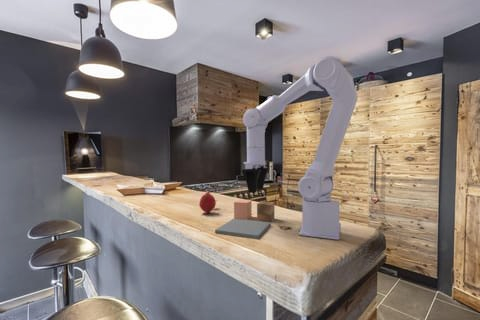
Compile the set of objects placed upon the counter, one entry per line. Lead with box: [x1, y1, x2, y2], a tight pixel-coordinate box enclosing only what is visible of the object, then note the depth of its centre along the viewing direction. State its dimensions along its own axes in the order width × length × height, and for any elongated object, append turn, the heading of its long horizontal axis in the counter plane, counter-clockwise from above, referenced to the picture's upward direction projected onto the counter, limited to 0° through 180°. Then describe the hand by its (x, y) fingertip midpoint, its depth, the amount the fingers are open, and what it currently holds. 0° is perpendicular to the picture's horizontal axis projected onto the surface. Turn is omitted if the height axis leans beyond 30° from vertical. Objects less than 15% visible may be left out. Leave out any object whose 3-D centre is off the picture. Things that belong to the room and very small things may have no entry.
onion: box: [199, 190, 217, 214], centre depth 82 cm, size 6×6×8 cm
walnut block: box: [256, 200, 275, 223], centre depth 73 cm, size 4×4×6 cm
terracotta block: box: [233, 199, 253, 220], centre depth 76 cm, size 4×4×6 cm
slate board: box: [214, 218, 272, 240], centre depth 63 cm, size 12×12×1 cm
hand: (256, 190), depth 72 cm, fingers open, 7 cm apart
